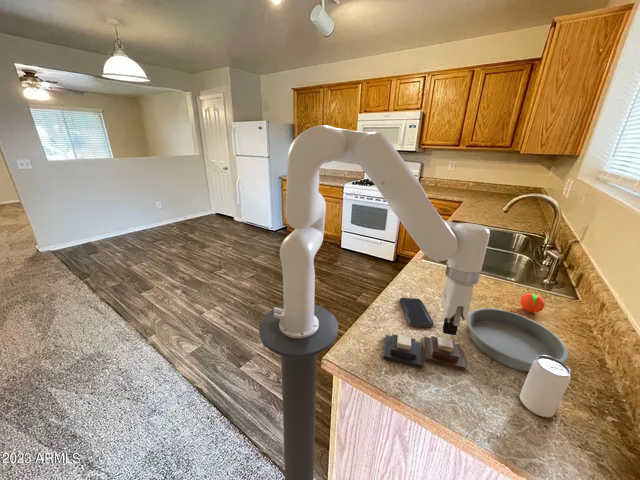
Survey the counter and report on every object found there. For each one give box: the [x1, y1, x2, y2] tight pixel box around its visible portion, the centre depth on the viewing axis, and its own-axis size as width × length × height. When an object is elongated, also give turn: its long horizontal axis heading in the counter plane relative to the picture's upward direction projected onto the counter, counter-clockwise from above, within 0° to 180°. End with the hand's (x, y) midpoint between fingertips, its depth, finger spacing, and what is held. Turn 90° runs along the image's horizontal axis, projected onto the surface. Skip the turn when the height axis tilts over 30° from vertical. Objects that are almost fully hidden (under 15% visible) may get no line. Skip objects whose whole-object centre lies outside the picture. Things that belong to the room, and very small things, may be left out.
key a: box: [397, 334, 412, 351], centre depth 74 cm, size 4×4×2 cm
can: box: [519, 355, 572, 418], centre depth 59 cm, size 6×6×12 cm
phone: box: [399, 297, 434, 328], centre depth 93 cm, size 8×1×15 cm
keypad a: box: [382, 333, 423, 369], centre depth 75 cm, size 10×9×3 cm
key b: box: [437, 335, 453, 352], centre depth 74 cm, size 4×4×2 cm
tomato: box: [519, 292, 546, 314], centre depth 95 cm, size 8×7×7 cm
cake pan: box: [466, 307, 569, 373], centre depth 79 cm, size 25×25×4 cm
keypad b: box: [422, 335, 466, 371], centre depth 75 cm, size 10×9×3 cm
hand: (449, 332), depth 72 cm, fingers closed
